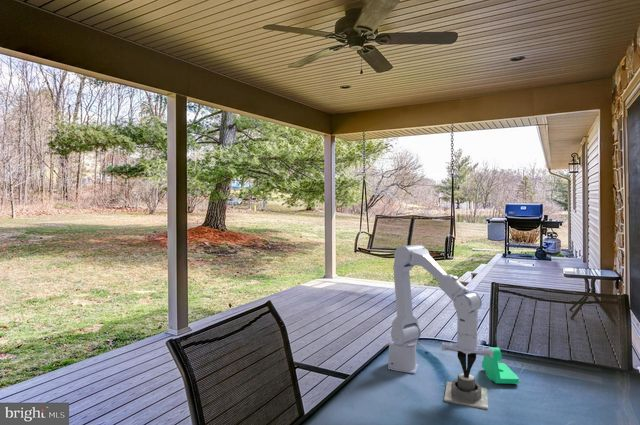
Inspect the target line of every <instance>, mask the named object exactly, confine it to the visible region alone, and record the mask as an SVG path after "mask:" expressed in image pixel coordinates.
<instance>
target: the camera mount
mask: <svg viewBox="0 0 640 425" xmlns="http://www.w3.org/2000/svg"><path fill="white" fill-rule="evenodd" d="M487 348H490V349H493V358H492V357H489V356H484V355H483V359H482V362H481V367H482V369H483V370H484V371H485V375H486V377H488V379H489V380H490V381H491V382H494V383H495V384H513V385H514V384H515V385H517V384H519V383H520V377H518V375H517V374H516V373H515V372H514V371H513V370H511V368H510V367H509V366H508V365H507V364H506V363H504V362H502V352H501V349H500V347H491V346H489V347H487Z"/></svg>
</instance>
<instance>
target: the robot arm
mask: <svg viewBox="0 0 640 425" xmlns="http://www.w3.org/2000/svg"><path fill="white" fill-rule="evenodd" d="M393 255H394V256H393V257H394V262H393V280H394V292H395V293H394V294H395V304H396V317H395V318H394V319H393V320H392V322H391V330H390V337H391V339H392V340H391V341H389V346H388V367H387V369H388V370H390V369H391V371H397V372H402V373H409V374H413V375H415V374H417V370H418V367H419V363H417V343H418V340H419V339H420V338H421V335H422V330H421V328H420V324H419V320H418V318H417V317H415V316H414V313H413V301H412V290H411V288H412V286H411V277H410V271H411V270H412V269H413V268H414V267H416V266H418V267H422V268H423V269H425V271H427V273H429V274H430V275H431V276H432V277H433V278H434V279H435V280H436V281H438V287H439V288H440V290H442V292H444V294H445V295H446V296H448V298H449V299H450V300H451V301H452V302H453V307H454V309H455V310H456V317H457V318H456V320H457V325H456V327H457V329H456V330H457V331H456V339H457V340H456V342H446V341H445V342H444V341H443V342H442V343H441V351H443V352H444V351H445V352H446V351H450V352H457V353H456V354H457V355H456V356H457V359H458V360H459V364H460V365H461V368H462V373H464V377H466V378H469V374H470V373H471V369H473V368H472V367H473V365H474V363H475V362H476V359H477V355H478V356H483V357H484V356H489V357H492V358H493V349H490V348H488V347H485V346H480V345H478V322H479V321H478V320H479V318H478V314H479V313H478V312H479V311H478V310H480V309H481V308H482V305H483V303H482V299H481V296H480V295H479V294H478V292H476V291H474V290H470V289H469V288H468V287H466V286H465V285H464V284H463V283H462V282H461V281H460V280H459V277H458V276H456V275H454V274H447V273H446V271H444V269H443V268H442V267H441V266H440V264H438V262H437V261H435V259H434V258H433V257H432V256H431V254H430V252H429V250H428V249H427V248H425V246H424V245H423V244H420V243H417V244H413V245H411V244H408V245H400V246H399V247H397V248H396V249H395V250H394V252H393ZM470 375H471V374H470Z"/></svg>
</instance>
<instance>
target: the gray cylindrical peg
mask: <svg viewBox="0 0 640 425" xmlns="http://www.w3.org/2000/svg"><path fill="white" fill-rule="evenodd" d="M457 379H458V388H460V389H462V390H466V391H475V382H476V378H475V376H474V375H473V374H469V378H466V377H464V373H463V372H462V373H459V374H458V375H457Z"/></svg>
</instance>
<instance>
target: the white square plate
mask: <svg viewBox="0 0 640 425" xmlns="http://www.w3.org/2000/svg"><path fill="white" fill-rule="evenodd" d="M488 400H489V399H488V388H487V387H482V386H481V385H480V383H478V382H476V381H475V391H466V390H462V389H460V388H458V378H457V379H454V380H452V381H446V384H445V393H444V398H443V401H444V402H447V403H451V404H457V405H462V406H467V407H472V408H477V409H478V408H479V409H481V410H482V409H483V410H489V401H488Z"/></svg>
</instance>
